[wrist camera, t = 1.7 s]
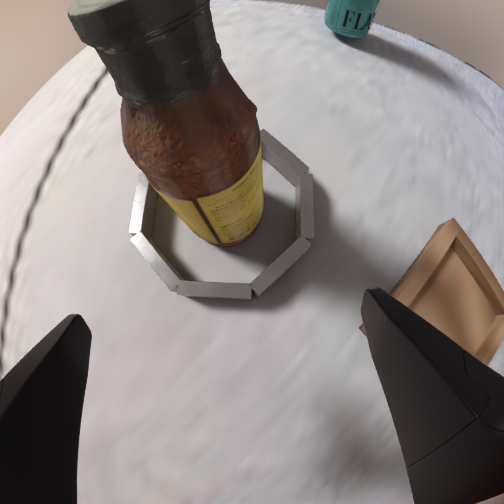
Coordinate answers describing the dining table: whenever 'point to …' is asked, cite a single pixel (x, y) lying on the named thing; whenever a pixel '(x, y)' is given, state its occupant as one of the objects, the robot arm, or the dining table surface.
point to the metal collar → (303, 183)
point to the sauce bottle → (181, 110)
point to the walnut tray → (455, 292)
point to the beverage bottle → (350, 16)
